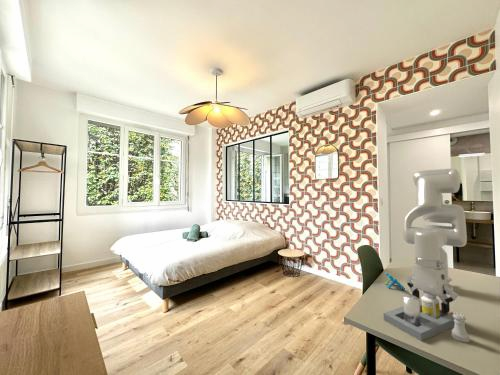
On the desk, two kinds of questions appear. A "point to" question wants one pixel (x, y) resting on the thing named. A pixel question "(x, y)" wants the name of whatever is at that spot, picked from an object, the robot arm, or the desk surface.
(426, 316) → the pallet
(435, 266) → the robot arm
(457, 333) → the rook chess piece
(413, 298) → the cylinder
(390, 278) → the gear
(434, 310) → the supplement bottle
